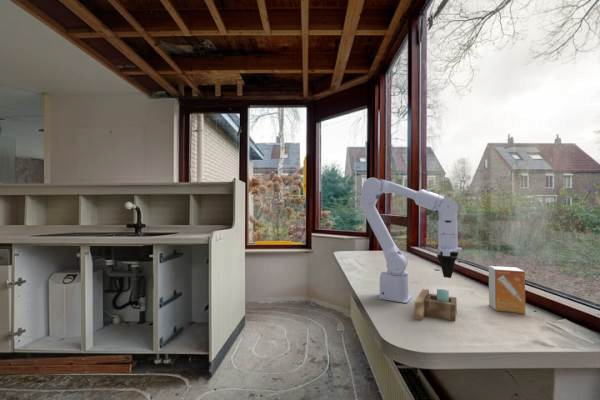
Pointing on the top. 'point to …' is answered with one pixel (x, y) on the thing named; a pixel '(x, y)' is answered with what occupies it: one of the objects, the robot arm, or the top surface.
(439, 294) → the dowel
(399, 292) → the robot arm
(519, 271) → the small box
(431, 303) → the block
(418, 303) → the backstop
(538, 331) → the top surface
